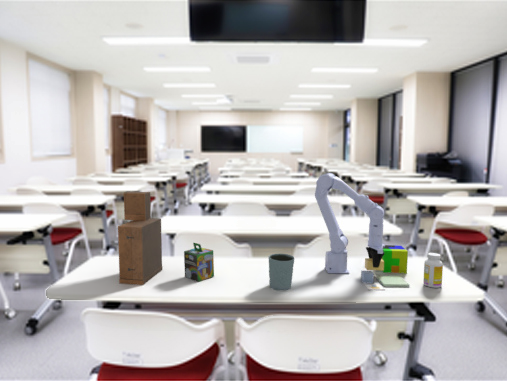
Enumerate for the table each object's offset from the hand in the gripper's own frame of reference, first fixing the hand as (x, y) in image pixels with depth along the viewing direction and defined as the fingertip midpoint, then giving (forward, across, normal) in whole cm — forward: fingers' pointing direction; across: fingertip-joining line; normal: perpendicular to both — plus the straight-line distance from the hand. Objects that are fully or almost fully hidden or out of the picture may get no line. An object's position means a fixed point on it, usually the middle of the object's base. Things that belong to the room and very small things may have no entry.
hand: (374, 265), depth 160 cm
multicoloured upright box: (+5, -4, +75) cm, 75 cm away
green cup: (+5, -14, +41) cm, 44 cm away
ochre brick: (+2, 0, 0) cm, 2 cm away
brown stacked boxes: (+5, -3, +100) cm, 100 cm away
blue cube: (+5, -7, +5) cm, 10 cm away
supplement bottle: (+5, -11, -20) cm, 23 cm away
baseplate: (+4, -8, -5) cm, 10 cm away
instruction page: (+4, -14, +4) cm, 15 cm away
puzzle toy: (+5, +9, -11) cm, 15 cm away
